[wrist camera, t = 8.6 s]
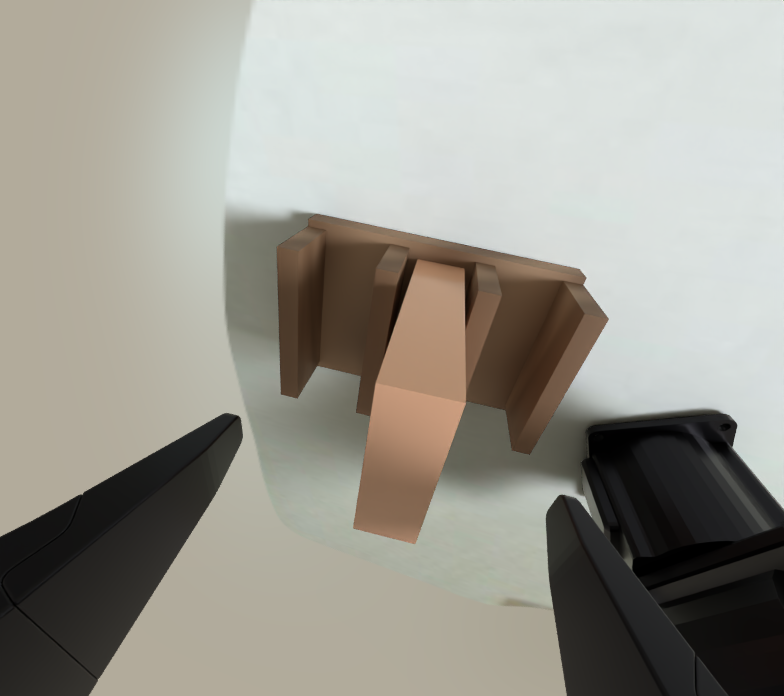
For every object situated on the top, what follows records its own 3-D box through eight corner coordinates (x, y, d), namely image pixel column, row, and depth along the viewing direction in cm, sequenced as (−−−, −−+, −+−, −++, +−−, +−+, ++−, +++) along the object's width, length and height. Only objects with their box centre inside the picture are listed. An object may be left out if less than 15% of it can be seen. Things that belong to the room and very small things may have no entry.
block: (464, 268, 15) (465, 403, 7) (433, 378, 18) (415, 544, 11) (417, 258, 15) (375, 382, 8) (396, 370, 18) (352, 528, 11)
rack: (579, 269, 15) (613, 311, 11) (515, 400, 19) (527, 458, 16) (316, 213, 15) (276, 238, 12) (311, 352, 20) (281, 399, 16)
